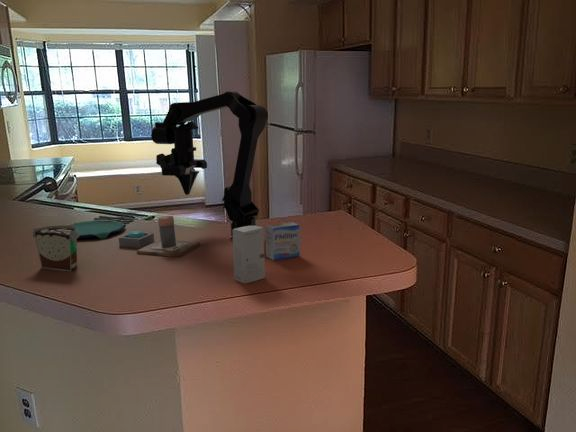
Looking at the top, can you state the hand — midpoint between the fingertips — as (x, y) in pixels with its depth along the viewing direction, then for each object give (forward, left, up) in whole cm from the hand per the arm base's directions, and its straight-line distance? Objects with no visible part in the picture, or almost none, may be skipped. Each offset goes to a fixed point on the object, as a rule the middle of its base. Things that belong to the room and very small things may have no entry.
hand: (187, 194), depth 155 cm
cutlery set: (+31, +4, -13) cm, 33 cm away
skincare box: (-35, +35, -12) cm, 51 cm away
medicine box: (-37, +17, -12) cm, 43 cm away
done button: (+8, +17, -11) cm, 22 cm away
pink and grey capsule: (-4, +19, -11) cm, 22 cm away
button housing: (+8, +17, -12) cm, 22 cm away
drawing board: (-4, +19, -12) cm, 23 cm away
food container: (+14, +39, -12) cm, 43 cm away
